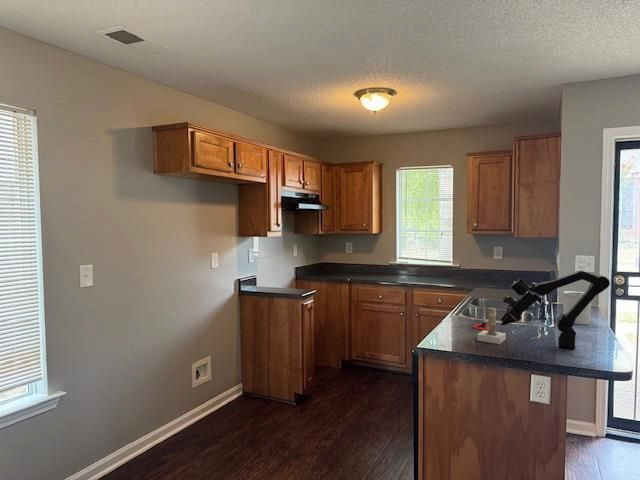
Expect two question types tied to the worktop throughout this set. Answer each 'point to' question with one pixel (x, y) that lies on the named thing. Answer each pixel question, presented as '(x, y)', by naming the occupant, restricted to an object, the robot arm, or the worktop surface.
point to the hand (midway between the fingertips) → (501, 322)
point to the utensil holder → (571, 300)
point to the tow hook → (482, 322)
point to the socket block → (491, 337)
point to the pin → (491, 321)
